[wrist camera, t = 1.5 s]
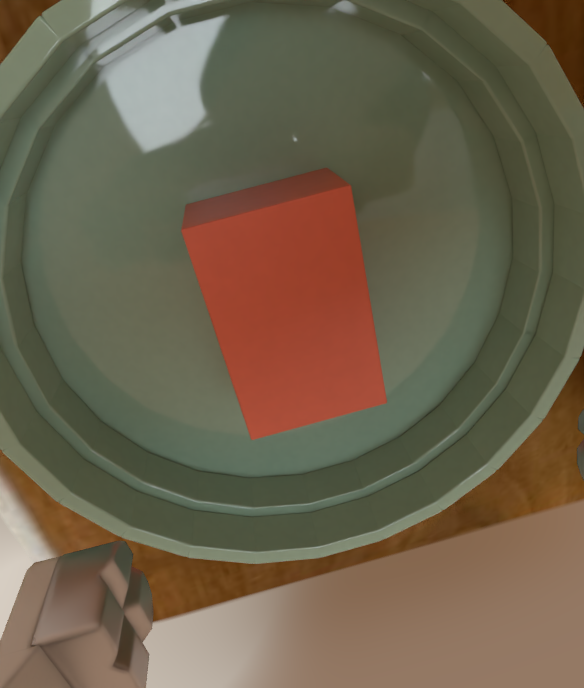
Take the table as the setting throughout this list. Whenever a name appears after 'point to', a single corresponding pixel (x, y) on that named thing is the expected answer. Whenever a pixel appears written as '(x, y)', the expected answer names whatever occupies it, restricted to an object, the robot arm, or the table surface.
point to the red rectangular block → (288, 299)
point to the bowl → (256, 169)
